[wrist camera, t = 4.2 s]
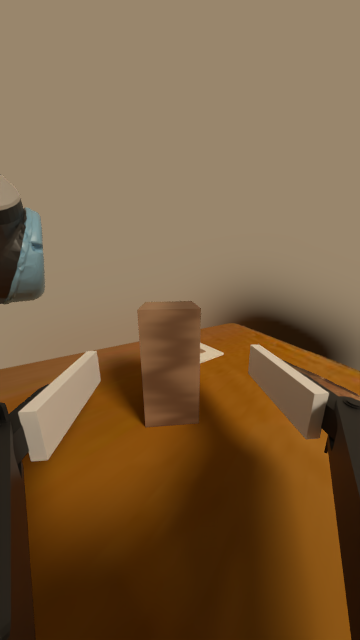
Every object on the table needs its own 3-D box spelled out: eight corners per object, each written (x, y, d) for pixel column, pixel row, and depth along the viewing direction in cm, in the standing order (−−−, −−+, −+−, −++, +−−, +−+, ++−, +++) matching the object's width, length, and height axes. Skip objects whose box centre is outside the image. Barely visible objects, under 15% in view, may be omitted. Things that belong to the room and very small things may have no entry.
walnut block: (145, 427, 16) (137, 310, 13) (150, 392, 21) (145, 302, 18) (198, 423, 16) (200, 308, 14) (191, 390, 21) (191, 301, 18)
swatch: (156, 350, 33) (156, 347, 33) (192, 340, 38) (192, 338, 38) (183, 369, 26) (183, 366, 26) (223, 354, 31) (223, 352, 31)
